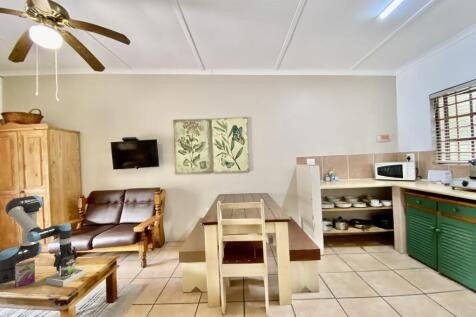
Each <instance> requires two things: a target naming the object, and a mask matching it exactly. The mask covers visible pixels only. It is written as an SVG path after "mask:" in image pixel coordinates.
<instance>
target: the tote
mask: <svg viewBox="0 0 476 317" xmlns="http://www.w3.org/2000/svg"><path fill="white" fill-rule="evenodd" d="M86 272H87V270H86V269H84V268H77V267H75V268H74V274H73V275H71V276H68V277H64V278H59V277H58V276H59V275H58V272H56V273H54V274H52V275H50V276H48V277H45V283H46V285H53V286H58V287H66V286H68V285H69V284H71V283H73V282H75V281H76V280H78V279H80V278H82V277H83V276H84V277H85V276H86Z"/></svg>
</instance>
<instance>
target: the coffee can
mask: <svg viewBox="0 0 476 317" xmlns="http://www.w3.org/2000/svg"><path fill="white" fill-rule="evenodd" d="M59 258H60V257H59ZM59 261H61V264H60V266H61V275H59V276H58V277H59V278H64V277H68V276H71V275H73V274H74V255H66V256H65V257H64V258H63V259H62V260H60V259H59Z"/></svg>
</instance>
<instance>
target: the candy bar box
mask: <svg viewBox="0 0 476 317" xmlns="http://www.w3.org/2000/svg"><path fill="white" fill-rule="evenodd" d="M35 263H36V259H29V260H25V261H22V262H19V263H17V264H15V280H14V288H17V287H21V286H26V285H29V284H32V283H35V282H36V275H35V274H36V269H35V268H36V264H35Z"/></svg>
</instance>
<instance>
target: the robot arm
mask: <svg viewBox="0 0 476 317" xmlns="http://www.w3.org/2000/svg"><path fill="white" fill-rule="evenodd" d="M43 205H44V203H43V199H42V198H41V196H39V195H28V196H21V197H14V198H13V199H11V200H9V201H8V202H7V203H6V205H5V208H4V209H5V210H4V211H5V213H6V214H7V216H9V217H10V218H12V219H14V221H16V223H17V224H18V225H19V226H20V227H21V228H22V242H21V243H20V245H19V246H13V247H9V248H6V249H4V250H2V251H0V285H1V284H6V283H9V282H10V283H11V282H12V281H13V282H14V281H15V264H17V263H21V262H25V261H28V260H31V259H33V258H34V257H35V258H36V257H37V256H39V255H40V254H41V252H42V250H43V246H42V243H41V242H40V241H41V240H45V239H49V238H52V237H54V236H55V237H56V236H58V237H59V243H58V244H59V252H56V253H55V259H54V262H53V267H54V268H56V272H57V273H58V275H61V266H60V264H61V261H59V259H60V260H62V259H63V258H64V257H65V256H66V255H74V268H76V266H75V265H76V260H77V258H78V257H79V256H78V254H77V250H76V247H75V246H72V225H71V223H70V222H65V223H60V224H59V225H58V224H52V225H50V226H49V227H46V228H41V227H40V226H39V225H38V224H37V222H38V221H37V218H38V216H37V215H38V212H40V209H41V208H42V207H43ZM59 257H60V258H59Z"/></svg>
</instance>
